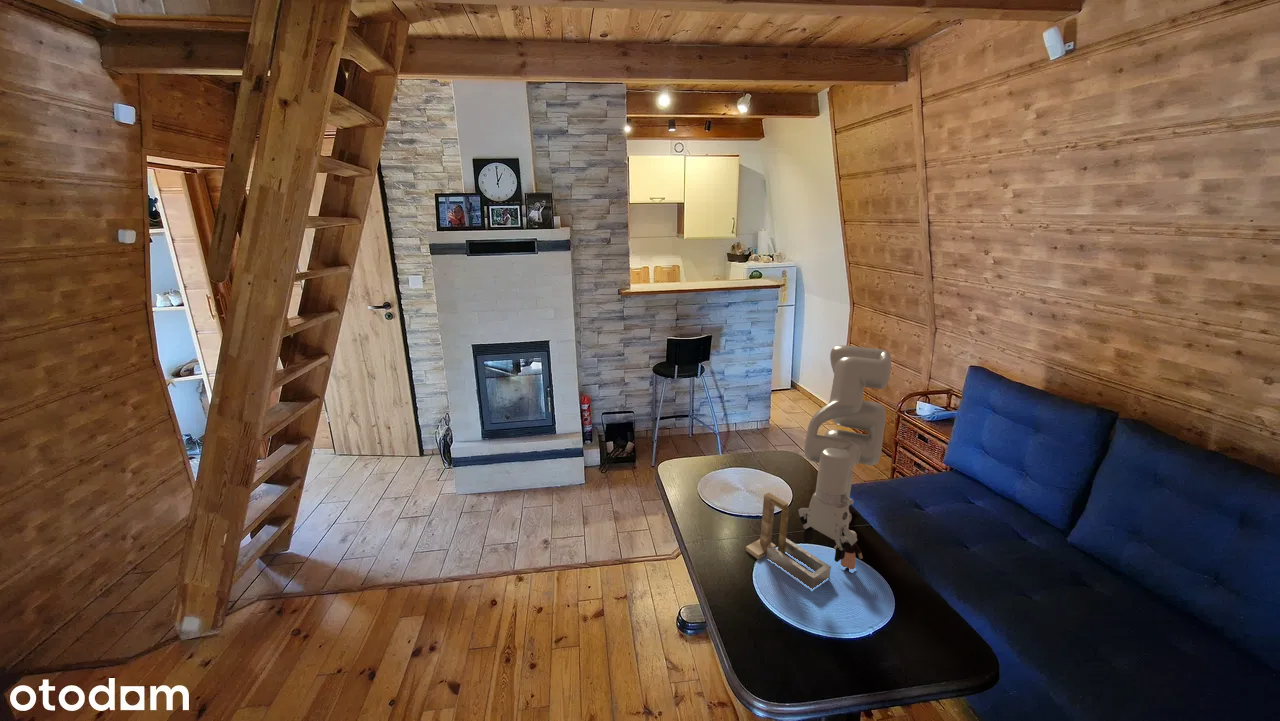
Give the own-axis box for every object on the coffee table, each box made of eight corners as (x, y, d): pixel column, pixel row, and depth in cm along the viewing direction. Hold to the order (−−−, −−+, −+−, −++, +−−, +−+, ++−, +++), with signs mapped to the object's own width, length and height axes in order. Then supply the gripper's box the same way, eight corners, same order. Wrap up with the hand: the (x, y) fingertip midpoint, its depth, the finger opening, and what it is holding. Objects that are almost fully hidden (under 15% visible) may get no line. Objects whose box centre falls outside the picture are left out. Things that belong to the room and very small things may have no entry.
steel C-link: (829, 579, 141) (830, 566, 139) (811, 591, 136) (813, 578, 135) (783, 549, 153) (784, 537, 152) (766, 559, 149) (767, 547, 147)
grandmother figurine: (859, 566, 146) (865, 530, 142) (860, 575, 142) (866, 538, 139) (831, 560, 148) (836, 524, 144) (831, 569, 145) (837, 532, 141)
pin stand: (763, 540, 157) (767, 489, 152) (787, 557, 150) (793, 503, 144) (745, 550, 153) (749, 497, 147) (769, 567, 145) (775, 513, 140)
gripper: (869, 505, 126) (860, 562, 130) (811, 476, 139) (804, 529, 144) (852, 514, 122) (843, 573, 126) (794, 484, 135) (788, 538, 140)
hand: (822, 549), depth 135 cm, fingers open, 9 cm apart
